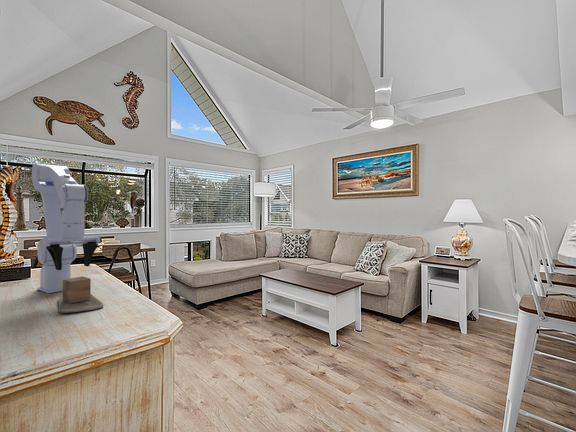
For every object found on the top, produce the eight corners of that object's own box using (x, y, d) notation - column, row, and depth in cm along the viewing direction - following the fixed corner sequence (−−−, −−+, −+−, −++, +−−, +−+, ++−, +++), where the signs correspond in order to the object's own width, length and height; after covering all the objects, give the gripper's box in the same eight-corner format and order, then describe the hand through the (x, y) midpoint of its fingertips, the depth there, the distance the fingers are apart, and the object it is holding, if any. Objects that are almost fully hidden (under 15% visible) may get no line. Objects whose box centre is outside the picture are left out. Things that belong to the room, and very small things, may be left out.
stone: (105, 306, 83) (60, 309, 77) (103, 316, 83) (58, 321, 77) (93, 288, 97) (54, 290, 90) (91, 297, 97) (52, 299, 90)
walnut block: (62, 300, 85) (62, 279, 85) (82, 296, 90) (82, 276, 90) (70, 303, 83) (70, 281, 83) (90, 299, 87) (90, 278, 87)
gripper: (50, 224, 84) (50, 273, 84) (104, 223, 96) (104, 265, 96) (40, 223, 88) (40, 270, 88) (93, 222, 100) (93, 263, 100)
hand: (73, 267), depth 92 cm, fingers open, 7 cm apart
